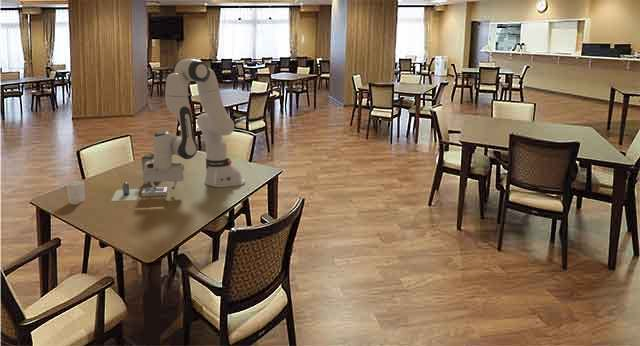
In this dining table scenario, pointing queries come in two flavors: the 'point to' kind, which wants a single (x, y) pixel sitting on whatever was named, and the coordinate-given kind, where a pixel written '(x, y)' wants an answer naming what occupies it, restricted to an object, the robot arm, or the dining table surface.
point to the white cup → (76, 192)
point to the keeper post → (125, 189)
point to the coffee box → (144, 160)
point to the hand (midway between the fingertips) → (164, 189)
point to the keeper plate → (132, 196)
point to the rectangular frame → (155, 191)
